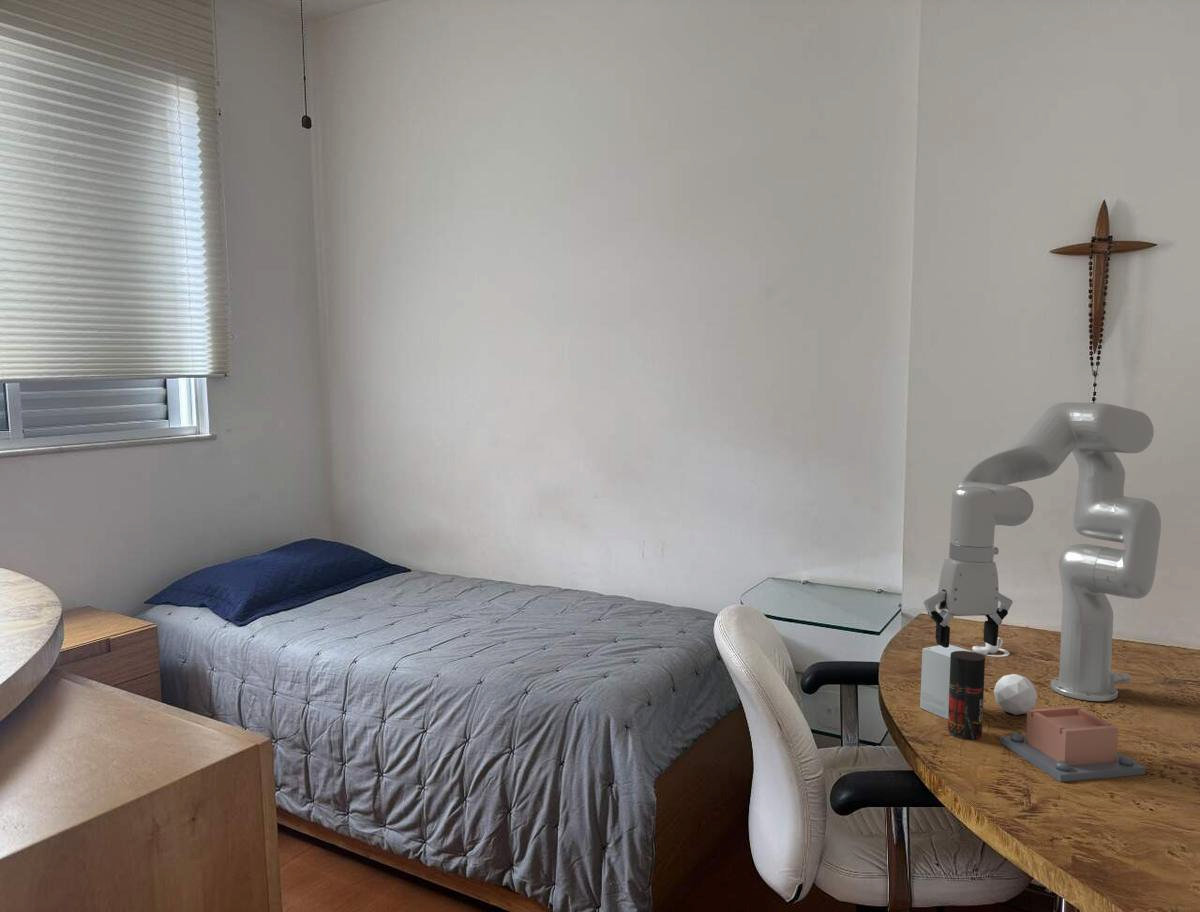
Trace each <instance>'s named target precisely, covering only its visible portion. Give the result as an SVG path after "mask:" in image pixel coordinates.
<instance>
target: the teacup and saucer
mask: <svg viewBox="0 0 1200 912" xmlns="http://www.w3.org/2000/svg"><path fill="white" fill-rule="evenodd" d="M1000 641H1001V642H1000ZM984 643H985V644H984V645H985V646H979V645H973V646H972V649H971V651H972V652H975V653H978V654H981V655H983V656H986V657H987V656H988V657H994V658H1003V657H1008V656H1010V652H1009V651H1008V650H1006V649H1004V648H1001V647H1002V646H1003V643H1004V640H1003V638H1001V637H999V636H998V639H997V645H996V646H992V645H990V644H988V643H986V642H984ZM998 651H1000V652H1003V654H999V655H996V653H997V652H998ZM992 654H993V655H992ZM994 654H995V655H994Z"/></svg>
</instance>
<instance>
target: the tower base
mask: <svg viewBox="0 0 1200 912" xmlns="http://www.w3.org/2000/svg"><path fill="white" fill-rule="evenodd" d="M1118 736H1119V726H1117V725H1114V724H1113V725H1112V723H1111V722H1109V721H1107V720H1105V719H1103V718H1101V717H1099V716H1097V715H1095V714H1093V713H1091V712H1089V711H1088V710H1085V709H1084V708H1081V707H1079V706H1078V705H1075V706H1074V705H1072V706H1059V707H1046V708H1032V709H1029V710H1027V713H1026V734H1022V733H1019V732H1012V733H1011V734H1010V735H1003V736H1000V744H1002V745H1003V746H1005V747H1006V748H1008V749H1009V750H1011V751H1012V752H1014V753H1015V754H1017V755H1019V756H1020V757H1021V758H1023V759H1025V760H1026V761H1028V762H1029V763H1031V764H1032V765H1034V766H1035V767H1037V768H1038V769H1040V770H1041V771H1043V772H1044V773H1046V774H1047V775H1049V776H1050V777H1052V778H1054V779H1055V780H1057V781H1059V782H1060V783H1063V782H1073V781H1074V782H1075V781H1084V780H1085V781H1086V780H1095V779H1108V778H1110V779H1111V778H1117V777H1118V778H1119V777H1133V776H1141V775H1145V774H1146V767H1145V766H1143V765H1141V764H1139V763H1138V762H1136V761H1135V759H1134V758H1133V757H1131V756H1128V755H1124V754H1121V752H1118V741H1119V739H1118V738H1119V737H1118Z"/></svg>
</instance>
